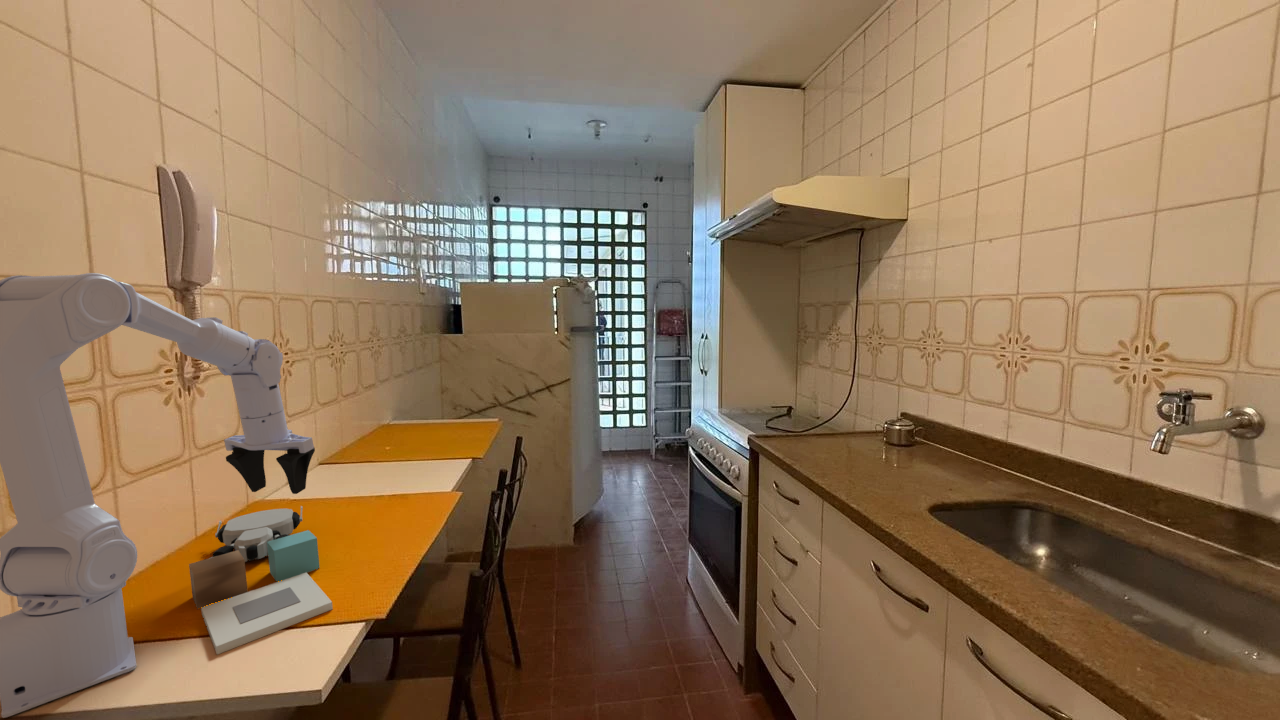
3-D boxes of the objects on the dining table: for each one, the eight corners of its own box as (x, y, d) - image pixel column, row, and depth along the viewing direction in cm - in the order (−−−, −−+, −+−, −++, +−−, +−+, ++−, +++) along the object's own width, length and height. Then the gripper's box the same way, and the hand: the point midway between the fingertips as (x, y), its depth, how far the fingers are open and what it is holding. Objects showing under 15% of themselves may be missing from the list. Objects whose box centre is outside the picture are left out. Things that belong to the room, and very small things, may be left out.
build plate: (217, 654, 59) (216, 645, 59) (202, 614, 67) (201, 606, 67) (332, 609, 68) (332, 601, 68) (306, 578, 76) (306, 571, 76)
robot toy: (299, 561, 84) (304, 523, 96) (297, 536, 83) (302, 501, 96) (203, 583, 78) (222, 539, 90) (199, 555, 77) (219, 515, 90)
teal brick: (277, 583, 75) (274, 550, 75) (270, 573, 78) (266, 541, 78) (319, 568, 79) (316, 537, 79) (311, 559, 82) (308, 530, 82)
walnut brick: (197, 610, 69) (193, 574, 68) (192, 598, 72) (188, 564, 71) (247, 593, 73) (244, 559, 72) (241, 582, 76) (238, 550, 75)
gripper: (321, 405, 85) (335, 480, 88) (245, 404, 87) (261, 477, 90) (286, 420, 78) (303, 501, 81) (205, 418, 80) (224, 497, 83)
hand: (279, 490), depth 85 cm, fingers open, 7 cm apart
